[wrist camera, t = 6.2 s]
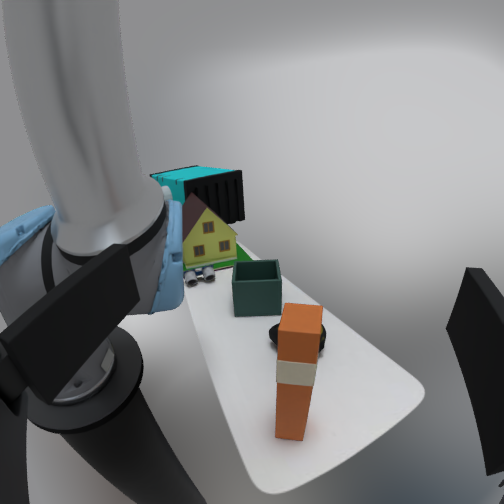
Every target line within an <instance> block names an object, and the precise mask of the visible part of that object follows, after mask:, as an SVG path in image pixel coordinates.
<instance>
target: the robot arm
mask: <svg viewBox="0 0 504 504" xmlns="http://www.w3.org/2000/svg"><path fill="white" fill-rule="evenodd" d="M2 9H3V21H4V30H5V39H6V46H7V52H8V58H9V64H10V69H11V74H12V79H13V83H14V88H15V92H16V96H17V100H18V104H19V108H20V111H21V115H22V118H23V122H24V125H25V128H26V132H27V135H28V138H29V141H30V144H31V147H32V150H33V153H34V156H35V158H36V161H37V164H38V166H39V169H40V171H41V174H42V177H43V179H44V182H45V184H46V187H47V189H48V192H49V194H50V196H51V199H52V201H53V203H54V205H55V208H56V211H55V209H54V207H53V206H51V205H49V206H43V207H40V208H37V209H35V210H32V211H30V212H27V213H25V214H23V215H21V216H19V217H17V218H16V219H14V220H12V221H10V222H8V223H7V224H5V225H3V226H2V227H0V312H1V314H2V316H3V318H4V320H5V322H6V324H7V326H8V327H7V328H6V329H5V330H4V331H3V332H1V333H0V504H30V503H29V494H28V482H27V464H26V430H27V410H28V394H27V392H26V391H25V389H26V388H27V387H28V386H29V388H30V389H31V391H32V392H33V393H34V395H35V396H36V397H37V398H38V399H40V400H41V401H43V402H44V403H46V404H47V405H50V404H51V405H54V406H73V405H77V404H80V403H83V402H85V401H87V400H89V399H91V398H93V397H94V396H96V395H97V394H98V393H100V392H101V391H102V390H103V389H104V388H105V387H106V386H107V384H108V383H109V382H110V380H111V378H112V377H113V375H114V372H115V369H116V364H117V358H116V353H115V351H114V349H113V346H112V344H111V342H110V340H109V339H108V338H107V337H108V336H109V334H110V333H111V332H112V331H113V330H114V329H115V328H116V327H117V325H118V324H119V323H120V322H121V321H122V320H123V319H124V318H125V316H126V315H137V314H148V315H150V314H153V313H155V312H160V311H167V310H173V309H175V308H177V307H178V306H179V305H180V304H181V303H182V301H183V298H184V280H183V242H182V204H181V203H180V202H179V201H173V200H171V199H169V200H166V201H165V200H164V194H163V191H162V188H161V186H160V184H159V183H158V182H157V181H156V180H155V179H153V178H151V177H150V176H147V175H145V174H142V170H141V165H140V160H139V155H138V150H137V145H136V140H135V135H134V129H133V123H132V117H131V111H130V105H129V98H128V92H127V85H126V77H125V69H124V61H123V53H122V42H121V32H120V31H121V30H120V17H119V1H118V0H2ZM446 330H447V332H448V335H449V337H450V340H451V343H452V345H453V348H454V351H455V354H456V356H457V359H458V362H459V365H460V368H461V371H462V374H463V377H464V380H465V383H466V387H467V390H468V393H469V397H470V400H471V404H472V407H473V411H474V415H475V419H476V423H477V427H478V432H479V436H480V441H481V446H482V450H483V456H484V462H485V468H486V475H487V476H489V475H492V474H496V473H499V472H502V471H504V297H503V296H502V294H501V293H500V292H499V290H498V289H497V287H496V286H495V285H494V283H493V282H492V281H491V280H490V278H489V277H488V276H487V274H486V273H485V271H484V270H483V269H482V268H469V267H466V270H465V273H464V277H463V280H462V284H461V287H460V290H459V293H458V296H457V299H456V302H455V305H454V308H453V310H452V313H451V316H450V319H449V321H448V324H447V327H446ZM503 485H504V480H502V482H501V483H500V484H499V487H502V486H503ZM499 504H504V495H503V497H502V499H501V501H500V503H499Z"/></svg>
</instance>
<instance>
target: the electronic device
mask: <svg viewBox="0 0 504 504" xmlns="http://www.w3.org/2000/svg"><path fill="white" fill-rule="evenodd" d="M150 177H151V178H153V179H155V180H156V181H157V182H158V183H159V184H160V186H161V188H162V191H163V194H164V200H165V201H166V200H169V199H171V200H173V201H179V202H180V203H181V204H182V205H183V204H184V202H185V201H186V200H187V198H188V197H189V195H190V194H191V192H192V193H193V194H194V195H196V196H197V197H198V198H199V199H200V200H201V201H202V202H204V203H205V204H206V205H207V206H208V207H209V208H210V209H212V210H213V211H214V212H215V213H216V214H217V215H218V216H219V217H220V218H221V219H222V220H223V221H224V222H225V223H226V224H233V223H235V222H236V221H242V220H245V212H244V196H243V180H242V170H228V169H220V168H210V167H200V166H197V165H196V166H190V167H185V168H179V169H174V170H169V171H165V172H160V173H155V174H150Z"/></svg>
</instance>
